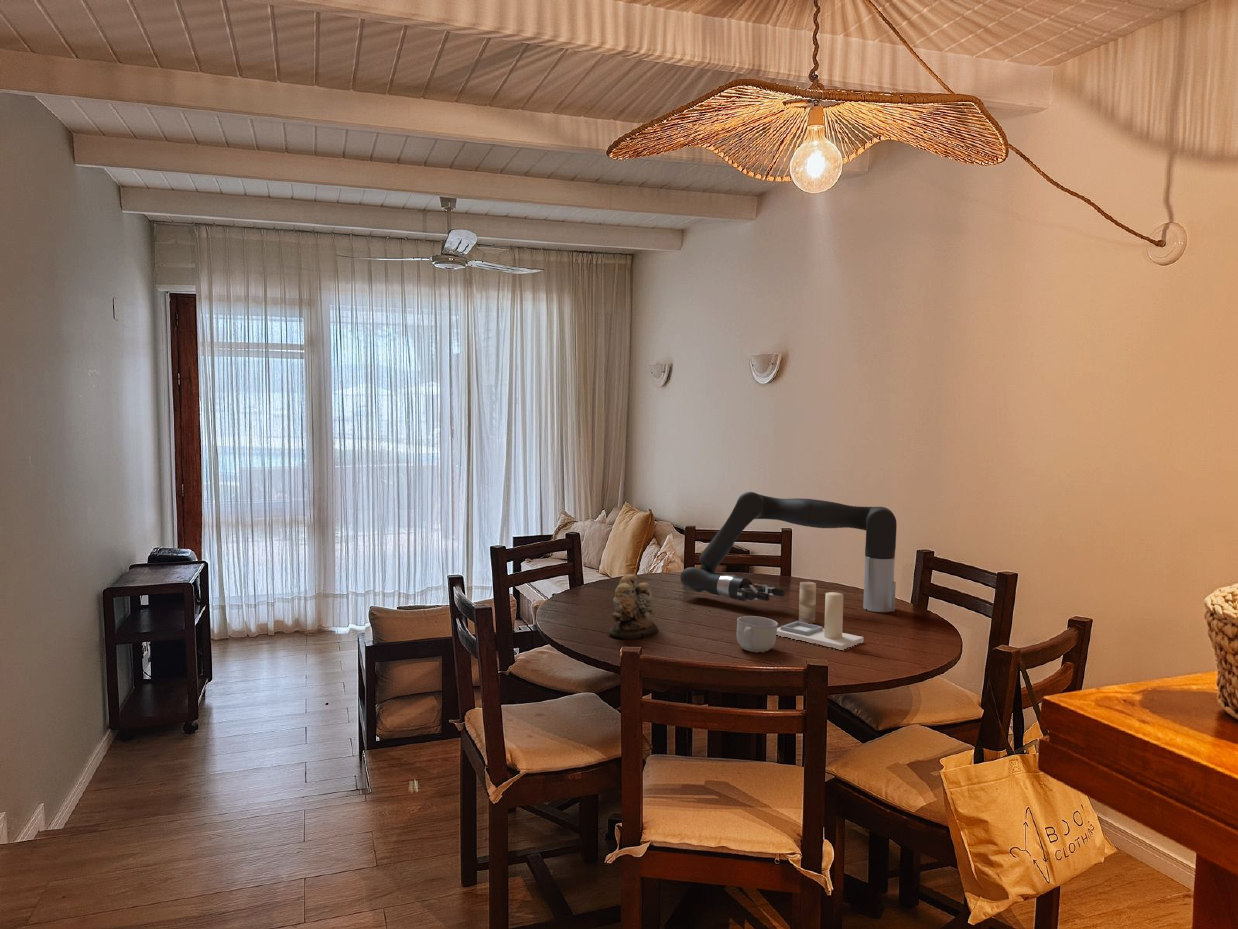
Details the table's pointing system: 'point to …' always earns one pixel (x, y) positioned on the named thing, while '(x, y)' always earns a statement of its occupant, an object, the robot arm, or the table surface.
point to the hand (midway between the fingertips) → (776, 595)
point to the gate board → (822, 639)
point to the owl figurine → (633, 610)
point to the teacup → (756, 633)
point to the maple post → (807, 602)
